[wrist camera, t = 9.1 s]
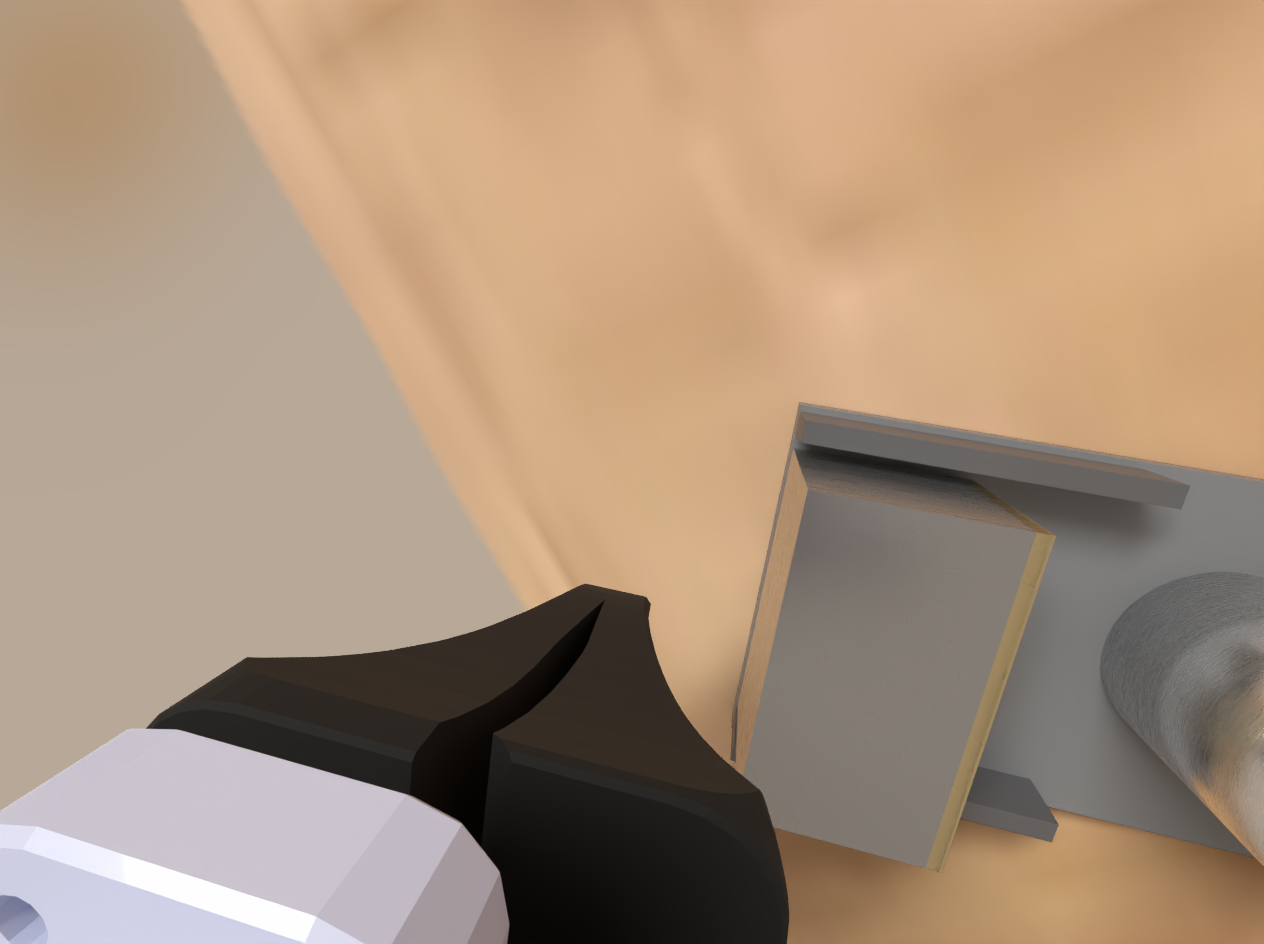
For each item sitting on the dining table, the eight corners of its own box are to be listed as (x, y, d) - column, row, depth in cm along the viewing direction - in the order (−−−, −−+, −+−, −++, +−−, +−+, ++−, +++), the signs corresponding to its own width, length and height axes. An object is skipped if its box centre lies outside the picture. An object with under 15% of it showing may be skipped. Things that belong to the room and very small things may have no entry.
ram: (973, 480, 14) (1056, 536, 10) (895, 741, 16) (941, 872, 12) (793, 447, 15) (807, 489, 11) (738, 702, 16) (733, 816, 12)
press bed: (1662, 546, 13) (2337, 705, 7) (1453, 891, 15) (1851, 1209, 9) (799, 402, 15) (824, 440, 10) (732, 714, 17) (723, 885, 12)
